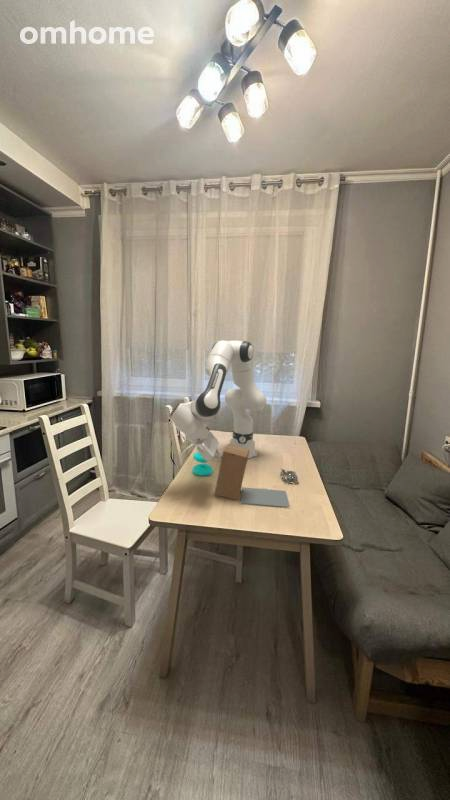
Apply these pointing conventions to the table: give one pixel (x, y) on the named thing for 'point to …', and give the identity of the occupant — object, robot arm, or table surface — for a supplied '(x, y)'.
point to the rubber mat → (264, 497)
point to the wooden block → (231, 471)
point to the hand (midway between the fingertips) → (221, 459)
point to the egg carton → (289, 476)
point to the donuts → (201, 466)
